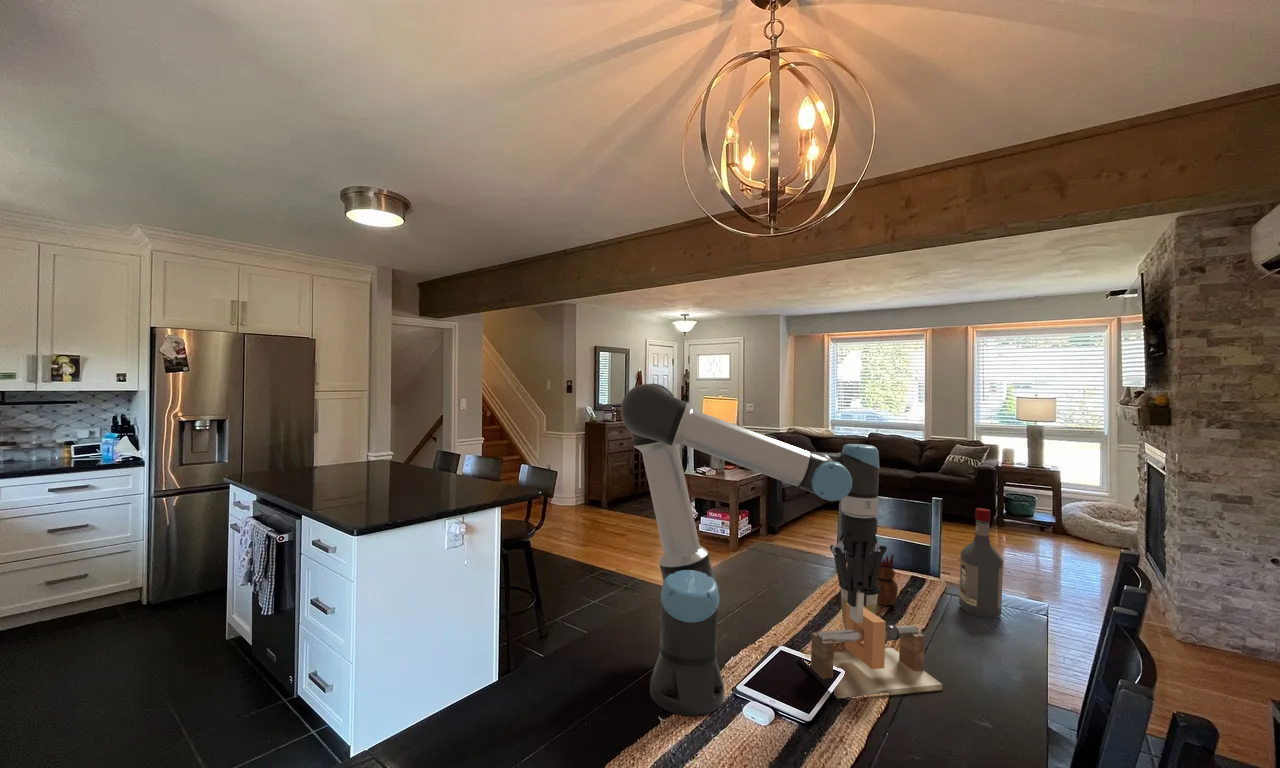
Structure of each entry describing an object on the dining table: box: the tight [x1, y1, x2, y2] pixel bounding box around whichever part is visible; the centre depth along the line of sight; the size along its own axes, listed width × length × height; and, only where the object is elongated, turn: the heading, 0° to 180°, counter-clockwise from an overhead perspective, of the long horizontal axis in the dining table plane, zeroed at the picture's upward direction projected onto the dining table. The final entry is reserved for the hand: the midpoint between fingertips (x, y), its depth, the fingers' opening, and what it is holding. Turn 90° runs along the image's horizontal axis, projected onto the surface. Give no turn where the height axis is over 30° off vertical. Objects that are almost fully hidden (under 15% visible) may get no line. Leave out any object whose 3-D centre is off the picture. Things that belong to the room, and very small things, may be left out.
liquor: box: [958, 507, 1004, 620], centre depth 157 cm, size 9×9×30 cm
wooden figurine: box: [877, 554, 899, 606], centre depth 161 cm, size 7×6×15 cm
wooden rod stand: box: [802, 631, 943, 698], centre depth 120 cm, size 25×16×9 cm, turn 102°
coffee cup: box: [838, 582, 880, 630], centre depth 137 cm, size 10×10×15 cm
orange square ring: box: [844, 603, 887, 669], centre depth 120 cm, size 3×10×10 cm, turn 12°
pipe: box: [816, 624, 920, 644], centre depth 120 cm, size 24×3×3 cm, turn 102°
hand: (856, 620), depth 119 cm, fingers closed
